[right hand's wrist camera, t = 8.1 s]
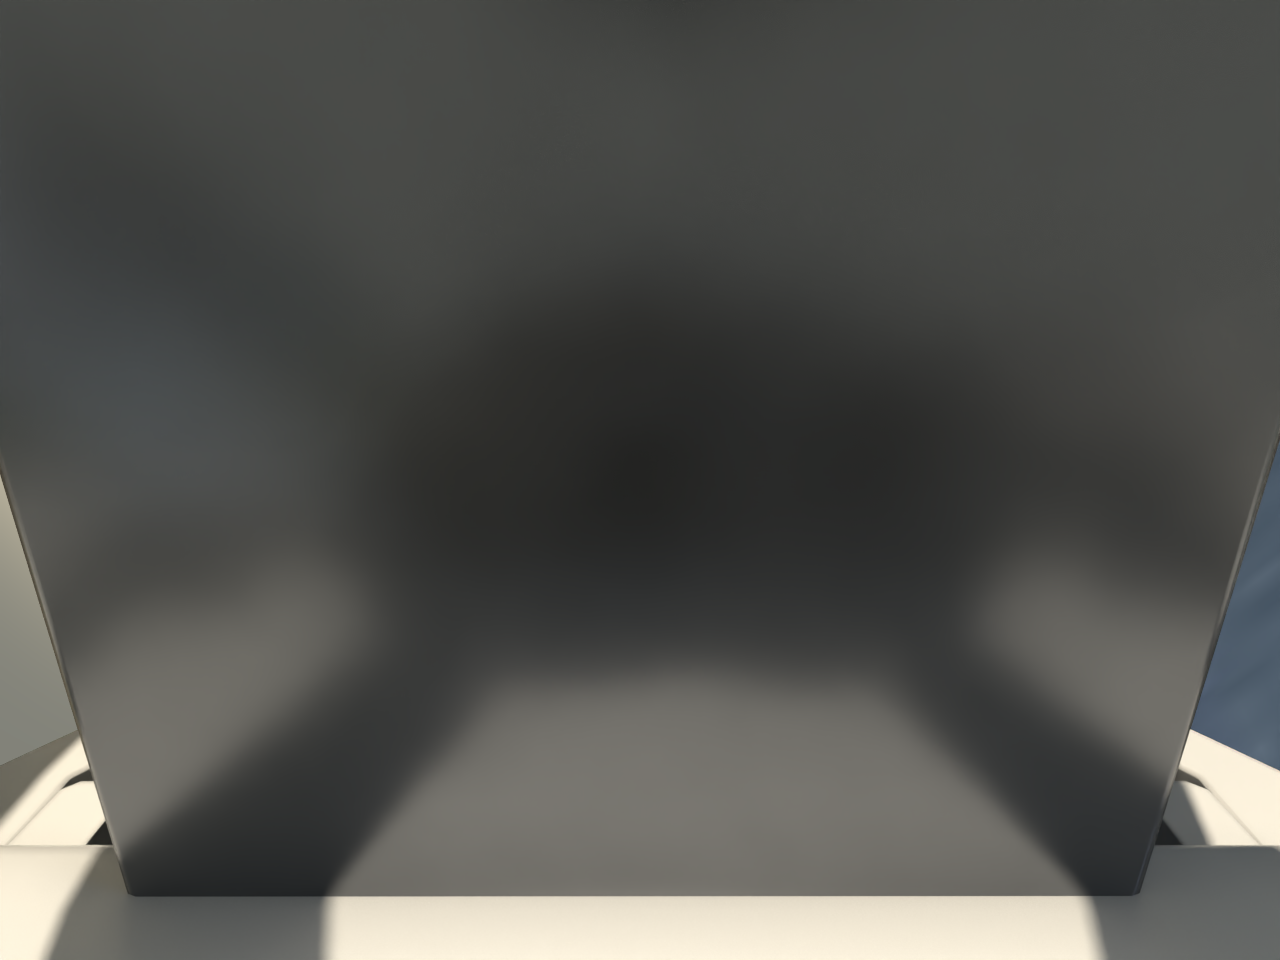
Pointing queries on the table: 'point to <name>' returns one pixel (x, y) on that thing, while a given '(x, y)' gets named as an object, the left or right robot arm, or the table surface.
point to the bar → (637, 431)
